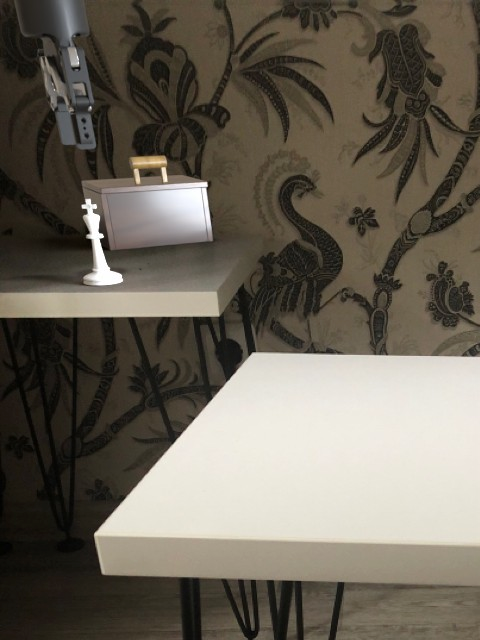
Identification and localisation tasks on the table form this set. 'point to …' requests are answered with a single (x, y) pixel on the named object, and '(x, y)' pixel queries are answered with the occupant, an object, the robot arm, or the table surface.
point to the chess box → (152, 217)
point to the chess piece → (97, 252)
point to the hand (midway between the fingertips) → (78, 146)
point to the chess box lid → (144, 179)
